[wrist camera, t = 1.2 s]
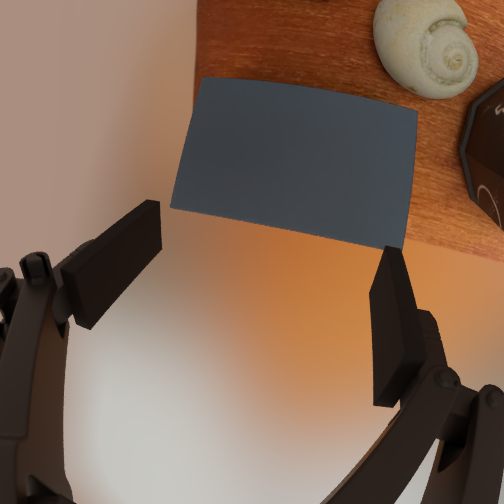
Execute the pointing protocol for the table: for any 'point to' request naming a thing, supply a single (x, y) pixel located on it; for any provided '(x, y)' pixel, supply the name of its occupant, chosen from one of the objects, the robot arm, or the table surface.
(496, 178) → the octagonal dark pot
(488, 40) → the table surface
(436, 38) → the seashell
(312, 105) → the lid
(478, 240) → the table surface
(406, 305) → the robot arm
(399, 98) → the table surface
